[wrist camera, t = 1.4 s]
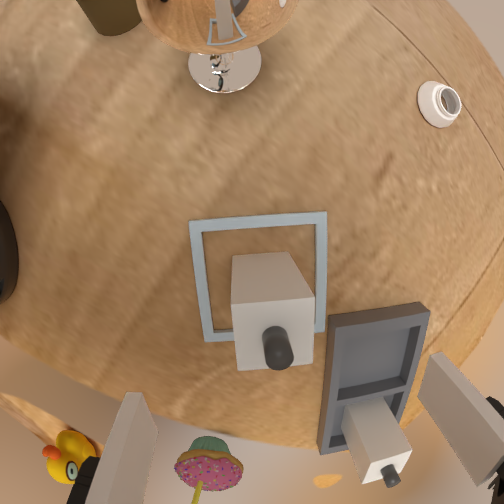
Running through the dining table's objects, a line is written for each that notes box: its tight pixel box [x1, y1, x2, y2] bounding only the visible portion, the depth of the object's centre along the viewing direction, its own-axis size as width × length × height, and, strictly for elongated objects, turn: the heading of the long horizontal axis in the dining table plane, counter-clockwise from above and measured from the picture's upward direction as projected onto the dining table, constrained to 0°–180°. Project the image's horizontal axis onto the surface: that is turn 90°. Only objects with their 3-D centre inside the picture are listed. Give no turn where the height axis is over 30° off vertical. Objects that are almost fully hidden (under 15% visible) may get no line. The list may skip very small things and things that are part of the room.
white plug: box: [341, 397, 413, 488], centre depth 27 cm, size 5×5×12 cm
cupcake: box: [174, 436, 243, 504], centre depth 28 cm, size 9×8×12 cm
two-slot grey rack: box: [317, 302, 430, 455], centre depth 31 cm, size 11×21×2 cm, turn 4°
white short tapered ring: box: [418, 81, 461, 128], centre depth 22 cm, size 5×3×5 cm
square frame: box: [188, 211, 327, 342], centre depth 27 cm, size 12×12×1 cm
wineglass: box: [134, 0, 299, 93], centre depth 14 cm, size 8×8×18 cm
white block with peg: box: [231, 251, 315, 371], centre depth 22 cm, size 5×5×12 cm
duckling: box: [42, 430, 96, 484], centre depth 29 cm, size 11×5×10 cm, turn 4°
